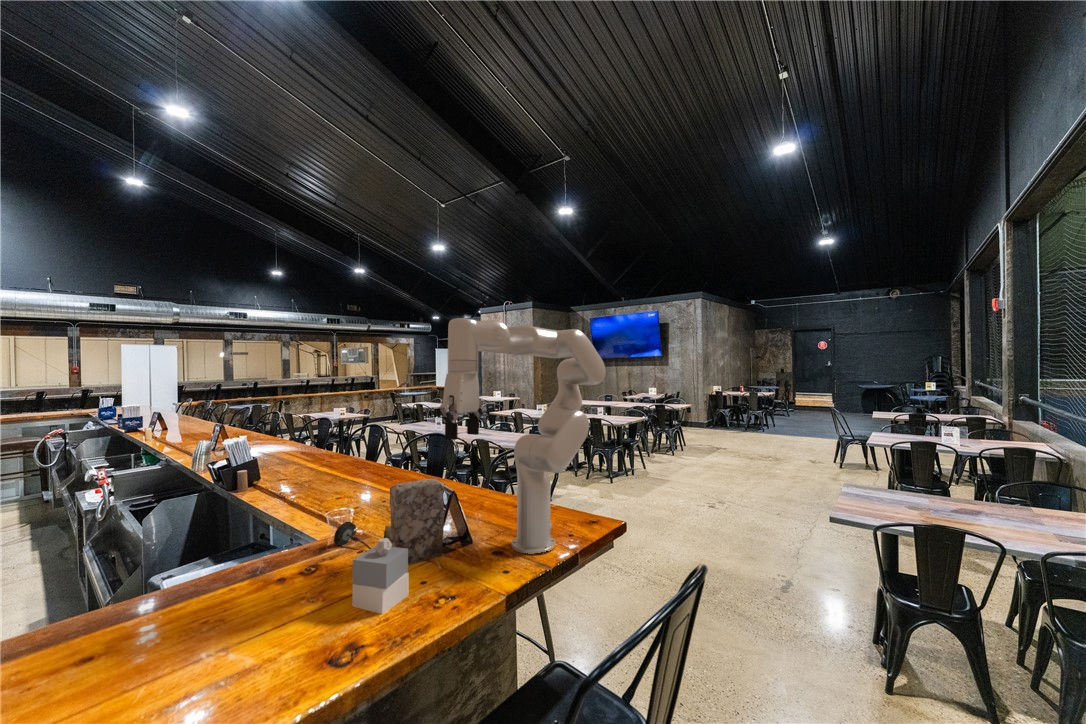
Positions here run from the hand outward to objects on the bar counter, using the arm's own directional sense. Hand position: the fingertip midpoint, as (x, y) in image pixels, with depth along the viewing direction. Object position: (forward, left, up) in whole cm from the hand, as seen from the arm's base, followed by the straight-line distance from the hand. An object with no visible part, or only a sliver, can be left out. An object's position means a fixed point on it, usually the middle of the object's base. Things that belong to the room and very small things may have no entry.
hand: (462, 436), depth 105 cm
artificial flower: (-3, -30, -34) cm, 46 cm away
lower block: (+18, -9, -34) cm, 39 cm away
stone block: (-2, -15, -34) cm, 37 cm away
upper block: (+18, -9, -28) cm, 35 cm away
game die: (+18, -9, -24) cm, 31 cm away
